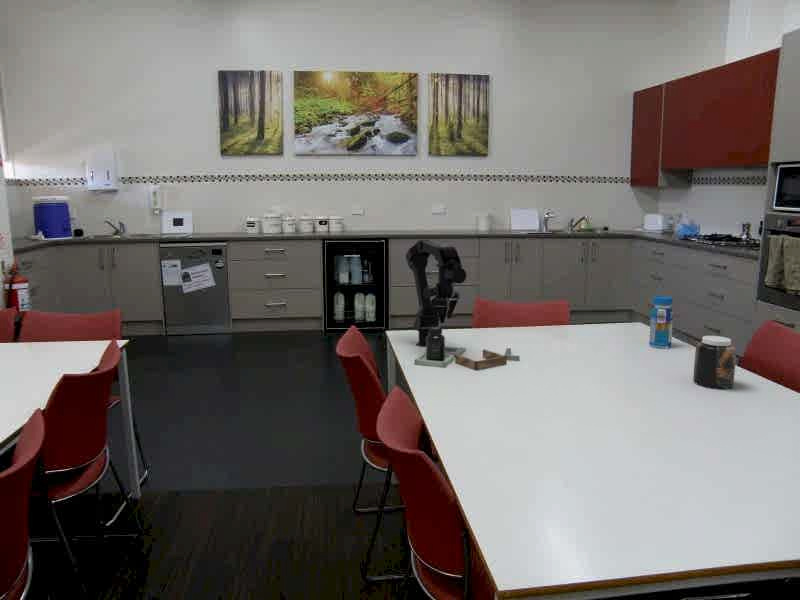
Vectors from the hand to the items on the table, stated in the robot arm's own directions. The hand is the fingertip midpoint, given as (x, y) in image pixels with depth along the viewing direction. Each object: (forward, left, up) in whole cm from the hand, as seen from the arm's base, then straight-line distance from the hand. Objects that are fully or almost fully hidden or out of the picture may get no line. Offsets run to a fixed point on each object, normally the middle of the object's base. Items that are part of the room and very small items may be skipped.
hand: (445, 320), depth 244 cm
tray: (+12, -1, -13) cm, 18 cm away
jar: (+7, +92, -13) cm, 93 cm away
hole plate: (-2, +1, -13) cm, 13 cm away
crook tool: (-5, +25, -13) cm, 29 cm away
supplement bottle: (+12, 0, -12) cm, 17 cm away
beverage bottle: (-40, +77, -13) cm, 88 cm away
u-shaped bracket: (+8, +15, -13) cm, 21 cm away
